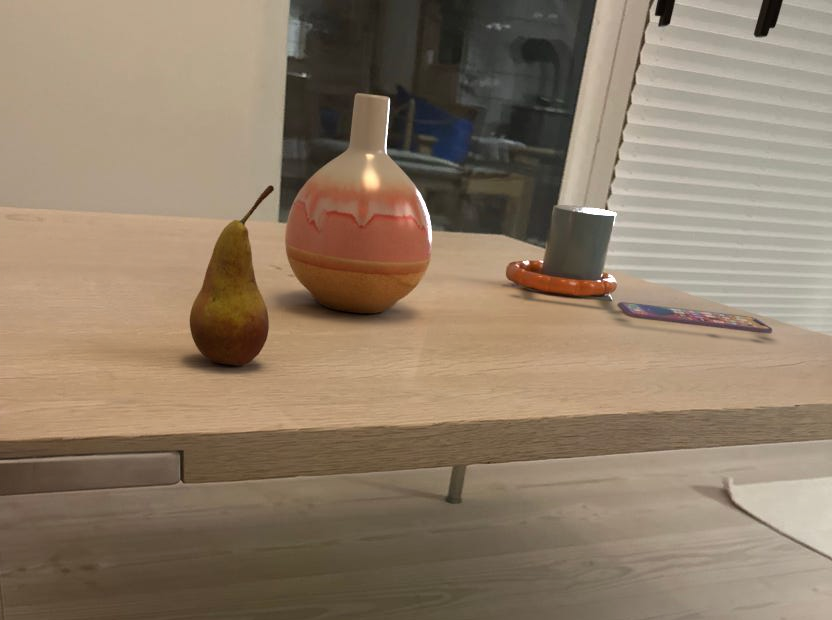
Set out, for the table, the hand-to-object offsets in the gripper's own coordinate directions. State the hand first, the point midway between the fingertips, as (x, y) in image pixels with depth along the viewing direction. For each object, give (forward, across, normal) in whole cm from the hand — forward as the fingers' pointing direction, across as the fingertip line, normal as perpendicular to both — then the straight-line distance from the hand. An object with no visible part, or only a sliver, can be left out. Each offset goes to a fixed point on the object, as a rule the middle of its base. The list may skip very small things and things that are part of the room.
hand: (711, 31), depth 93 cm
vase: (+26, +31, +23) cm, 47 cm away
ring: (+24, +10, +2) cm, 27 cm away
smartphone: (+26, -4, +10) cm, 28 cm away
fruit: (+26, +37, +48) cm, 66 cm away
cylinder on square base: (+26, +9, +2) cm, 28 cm away
